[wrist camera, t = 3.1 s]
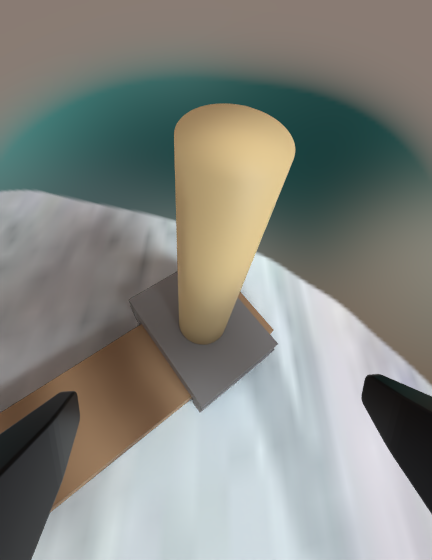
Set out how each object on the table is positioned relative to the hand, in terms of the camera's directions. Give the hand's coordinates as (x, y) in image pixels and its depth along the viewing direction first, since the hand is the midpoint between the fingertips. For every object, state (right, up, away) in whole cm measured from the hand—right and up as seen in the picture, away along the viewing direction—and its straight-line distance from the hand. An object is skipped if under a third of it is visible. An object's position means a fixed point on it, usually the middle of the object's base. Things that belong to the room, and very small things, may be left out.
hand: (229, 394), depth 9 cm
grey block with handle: (-2, -1, +13) cm, 13 cm away
